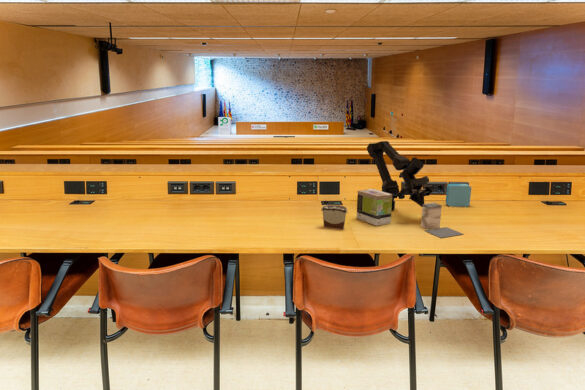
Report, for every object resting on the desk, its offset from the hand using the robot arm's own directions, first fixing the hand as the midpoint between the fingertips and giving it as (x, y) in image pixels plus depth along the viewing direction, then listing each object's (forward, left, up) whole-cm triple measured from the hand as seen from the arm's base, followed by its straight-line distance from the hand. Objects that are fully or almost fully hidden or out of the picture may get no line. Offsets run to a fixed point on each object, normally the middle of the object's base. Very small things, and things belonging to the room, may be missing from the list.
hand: (423, 206), depth 216 cm
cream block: (+4, -4, -9) cm, 10 cm away
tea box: (-23, -4, -9) cm, 25 cm away
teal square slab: (+15, +42, -9) cm, 45 cm away
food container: (-38, -20, -9) cm, 44 cm away
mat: (+10, -10, -9) cm, 17 cm away
